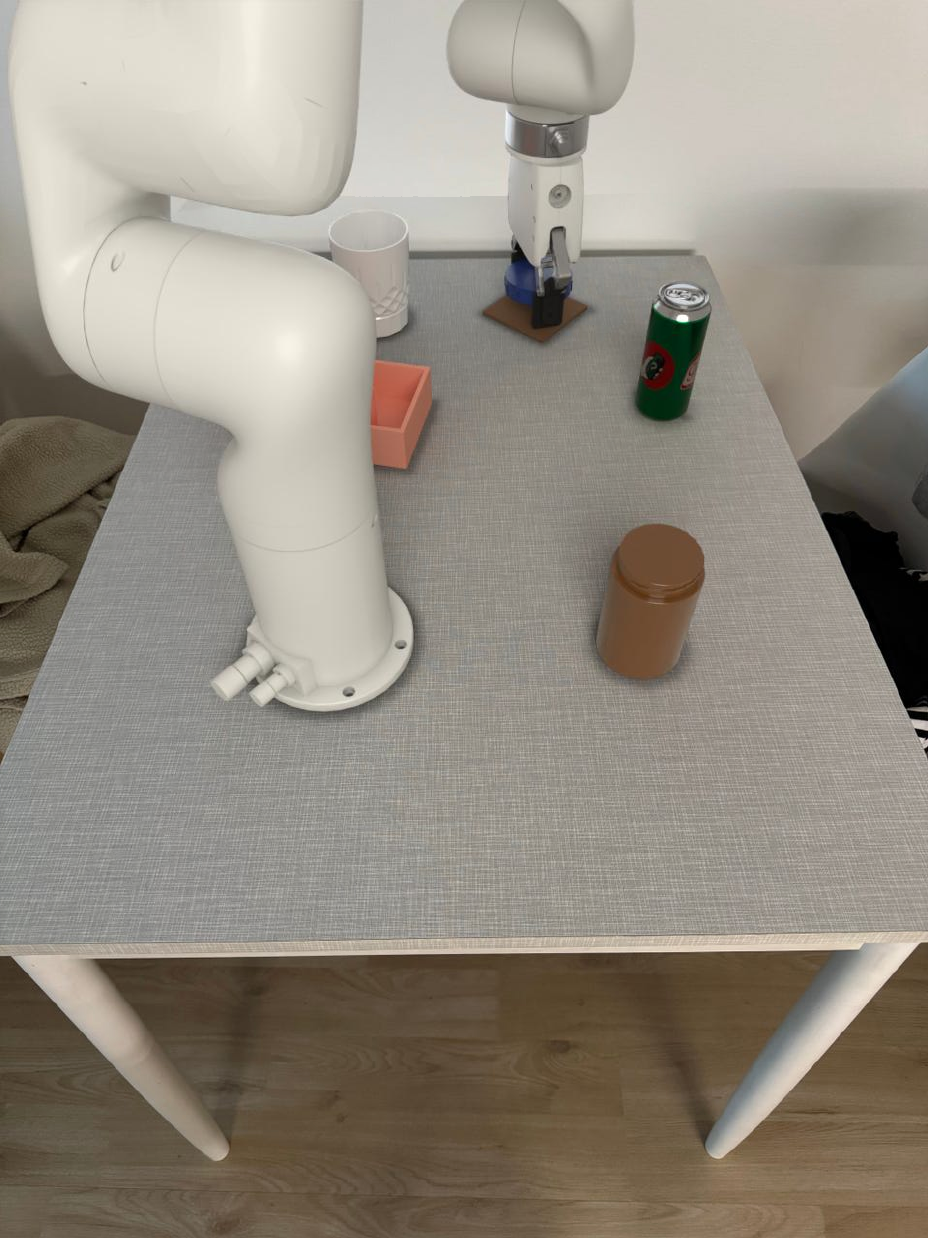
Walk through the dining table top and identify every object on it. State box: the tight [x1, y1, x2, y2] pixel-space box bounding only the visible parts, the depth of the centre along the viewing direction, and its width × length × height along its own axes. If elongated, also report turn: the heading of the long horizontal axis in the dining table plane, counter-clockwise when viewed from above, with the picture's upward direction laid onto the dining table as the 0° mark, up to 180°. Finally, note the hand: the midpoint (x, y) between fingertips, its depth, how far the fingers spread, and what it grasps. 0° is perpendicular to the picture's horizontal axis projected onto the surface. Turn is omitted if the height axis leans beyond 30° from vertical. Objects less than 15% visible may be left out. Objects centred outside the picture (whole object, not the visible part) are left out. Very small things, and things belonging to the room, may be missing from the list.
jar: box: [595, 523, 706, 680], centre depth 63 cm, size 6×6×10 cm
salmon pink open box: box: [370, 359, 433, 470], centre depth 79 cm, size 18×10×10 cm, turn 77°
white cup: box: [327, 209, 410, 339], centre depth 89 cm, size 8×8×10 cm
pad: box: [482, 295, 588, 344], centre depth 94 cm, size 8×8×1 cm
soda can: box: [634, 280, 713, 422], centre depth 79 cm, size 5×5×12 cm
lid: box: [503, 257, 574, 306], centre depth 91 cm, size 7×7×2 cm
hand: (535, 304), depth 93 cm, fingers closed on lid, 6 cm apart
